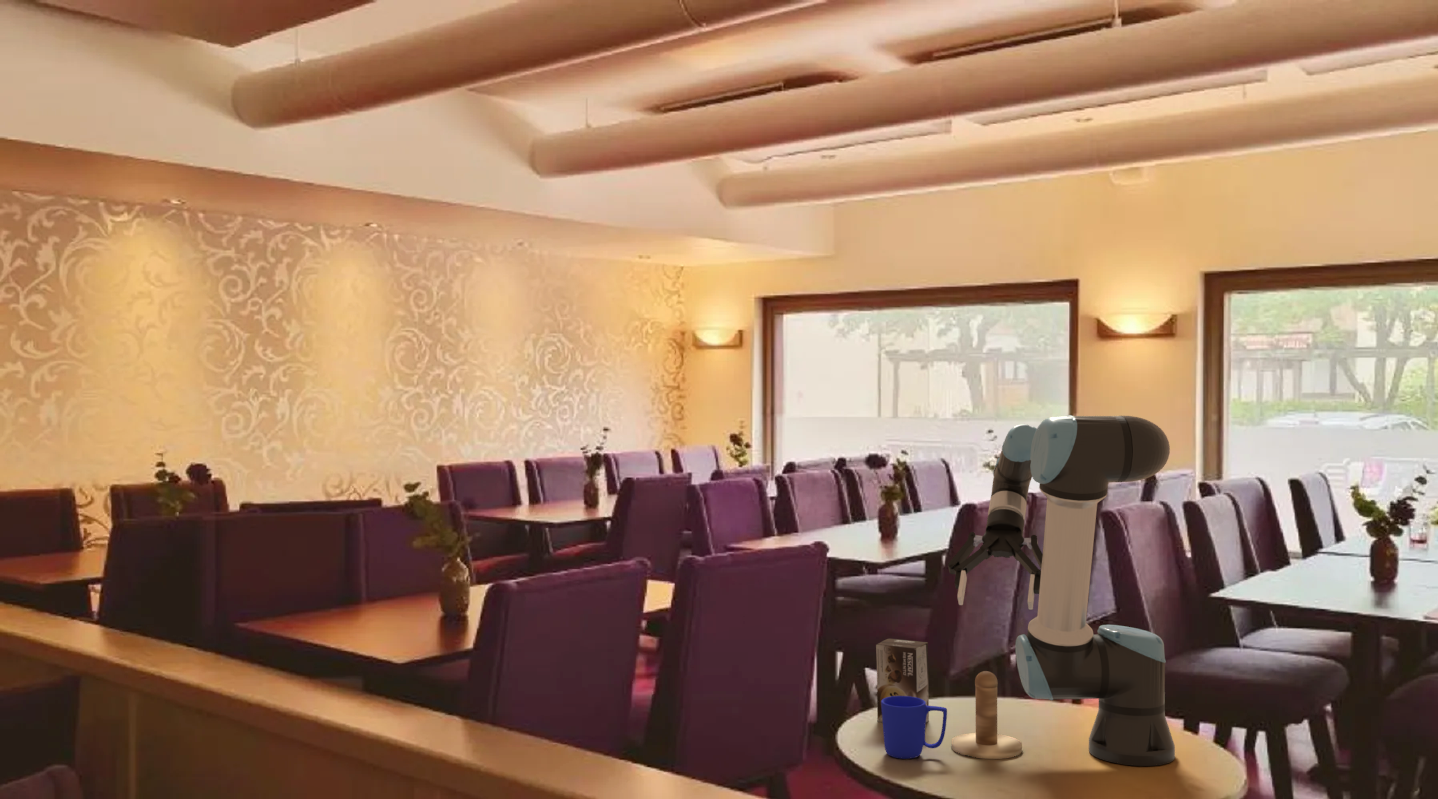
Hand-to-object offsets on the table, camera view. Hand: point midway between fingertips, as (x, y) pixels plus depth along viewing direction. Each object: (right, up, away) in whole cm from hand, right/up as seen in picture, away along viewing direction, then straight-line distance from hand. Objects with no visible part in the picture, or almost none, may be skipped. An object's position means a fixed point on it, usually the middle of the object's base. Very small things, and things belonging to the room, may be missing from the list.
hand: (994, 603), depth 241 cm
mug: (-18, -26, -14) cm, 35 cm away
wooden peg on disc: (-4, -26, -10) cm, 28 cm away
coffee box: (-17, -26, +9) cm, 32 cm away
